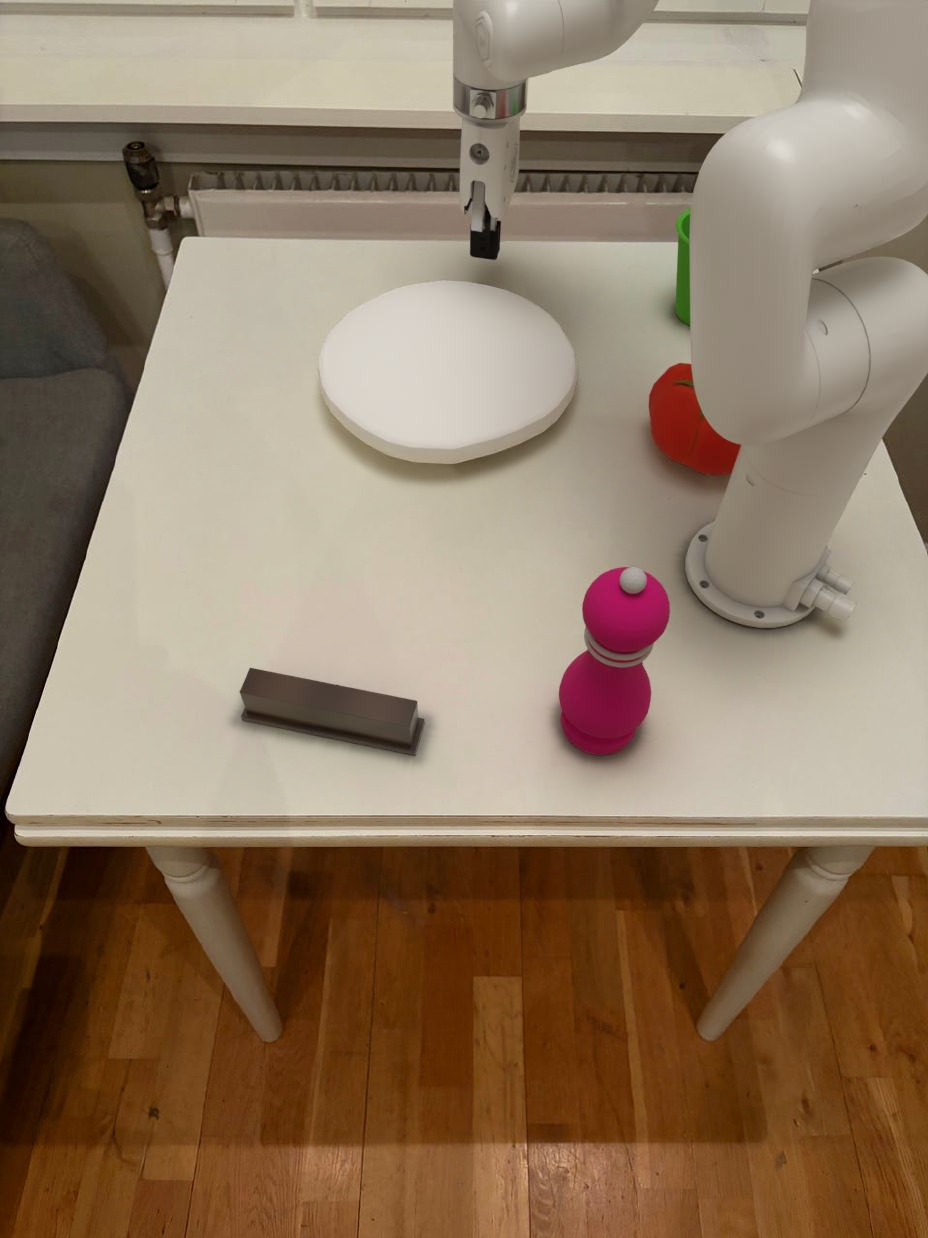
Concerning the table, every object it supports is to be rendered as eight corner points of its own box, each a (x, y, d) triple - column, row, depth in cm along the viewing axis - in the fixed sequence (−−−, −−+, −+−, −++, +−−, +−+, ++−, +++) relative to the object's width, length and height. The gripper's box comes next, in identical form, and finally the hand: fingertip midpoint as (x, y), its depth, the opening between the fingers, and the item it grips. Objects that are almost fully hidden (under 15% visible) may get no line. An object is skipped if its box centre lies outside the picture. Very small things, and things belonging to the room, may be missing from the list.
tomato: (788, 450, 97) (814, 385, 90) (710, 510, 92) (731, 446, 85) (693, 388, 103) (710, 322, 96) (614, 441, 98) (627, 376, 91)
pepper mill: (536, 721, 78) (557, 571, 62) (593, 669, 81) (628, 513, 65) (602, 778, 75) (643, 636, 59) (659, 722, 78) (712, 572, 62)
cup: (645, 297, 112) (662, 211, 103) (715, 284, 113) (737, 197, 105) (678, 344, 107) (698, 257, 98) (750, 330, 108) (777, 243, 100)
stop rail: (424, 722, 78) (423, 697, 75) (415, 756, 76) (413, 732, 73) (255, 688, 80) (246, 662, 77) (241, 720, 78) (232, 695, 75)
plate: (432, 243, 110) (629, 334, 100) (430, 294, 115) (617, 385, 105) (259, 344, 94) (472, 463, 85) (264, 398, 99) (467, 516, 90)
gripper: (512, 133, 90) (503, 298, 105) (540, 61, 99) (528, 222, 114) (436, 123, 91) (438, 288, 106) (469, 52, 99) (467, 214, 114)
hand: (484, 254), depth 110 cm, fingers closed
